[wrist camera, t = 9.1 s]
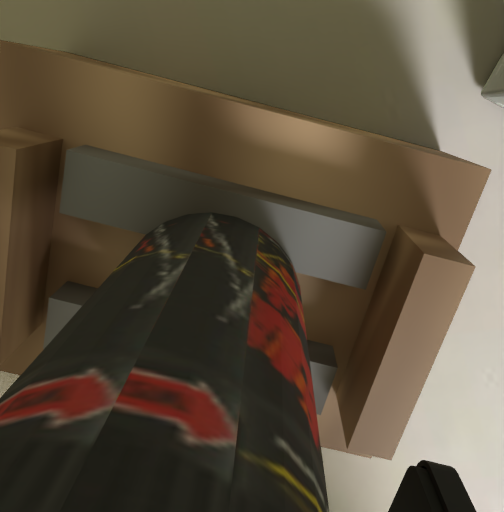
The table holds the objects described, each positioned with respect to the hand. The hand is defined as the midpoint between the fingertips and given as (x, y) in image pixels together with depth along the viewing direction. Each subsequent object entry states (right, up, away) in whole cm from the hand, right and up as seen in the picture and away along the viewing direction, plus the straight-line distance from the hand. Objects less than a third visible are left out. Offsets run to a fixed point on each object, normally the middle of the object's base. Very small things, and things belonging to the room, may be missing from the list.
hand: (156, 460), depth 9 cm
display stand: (+1, +5, +13) cm, 14 cm away
